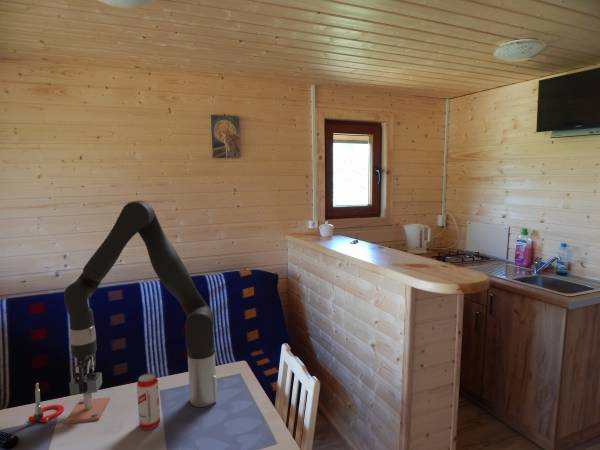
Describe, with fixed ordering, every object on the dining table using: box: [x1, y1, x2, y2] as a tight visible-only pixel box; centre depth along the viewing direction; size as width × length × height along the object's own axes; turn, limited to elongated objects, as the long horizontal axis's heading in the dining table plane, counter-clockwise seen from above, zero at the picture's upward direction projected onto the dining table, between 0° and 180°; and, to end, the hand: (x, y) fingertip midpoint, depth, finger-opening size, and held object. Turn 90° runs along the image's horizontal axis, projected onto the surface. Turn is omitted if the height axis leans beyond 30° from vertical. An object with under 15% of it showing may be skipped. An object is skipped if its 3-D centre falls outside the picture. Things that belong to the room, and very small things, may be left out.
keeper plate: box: [65, 393, 111, 425], centre depth 131 cm, size 10×12×8 cm
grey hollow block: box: [69, 371, 103, 396], centre depth 130 cm, size 8×6×4 cm
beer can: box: [136, 373, 161, 430], centre depth 123 cm, size 6×6×16 cm
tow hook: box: [28, 382, 65, 423], centre depth 130 cm, size 8×13×9 cm
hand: (86, 387), depth 130 cm, fingers closed on grey hollow block, 6 cm apart
